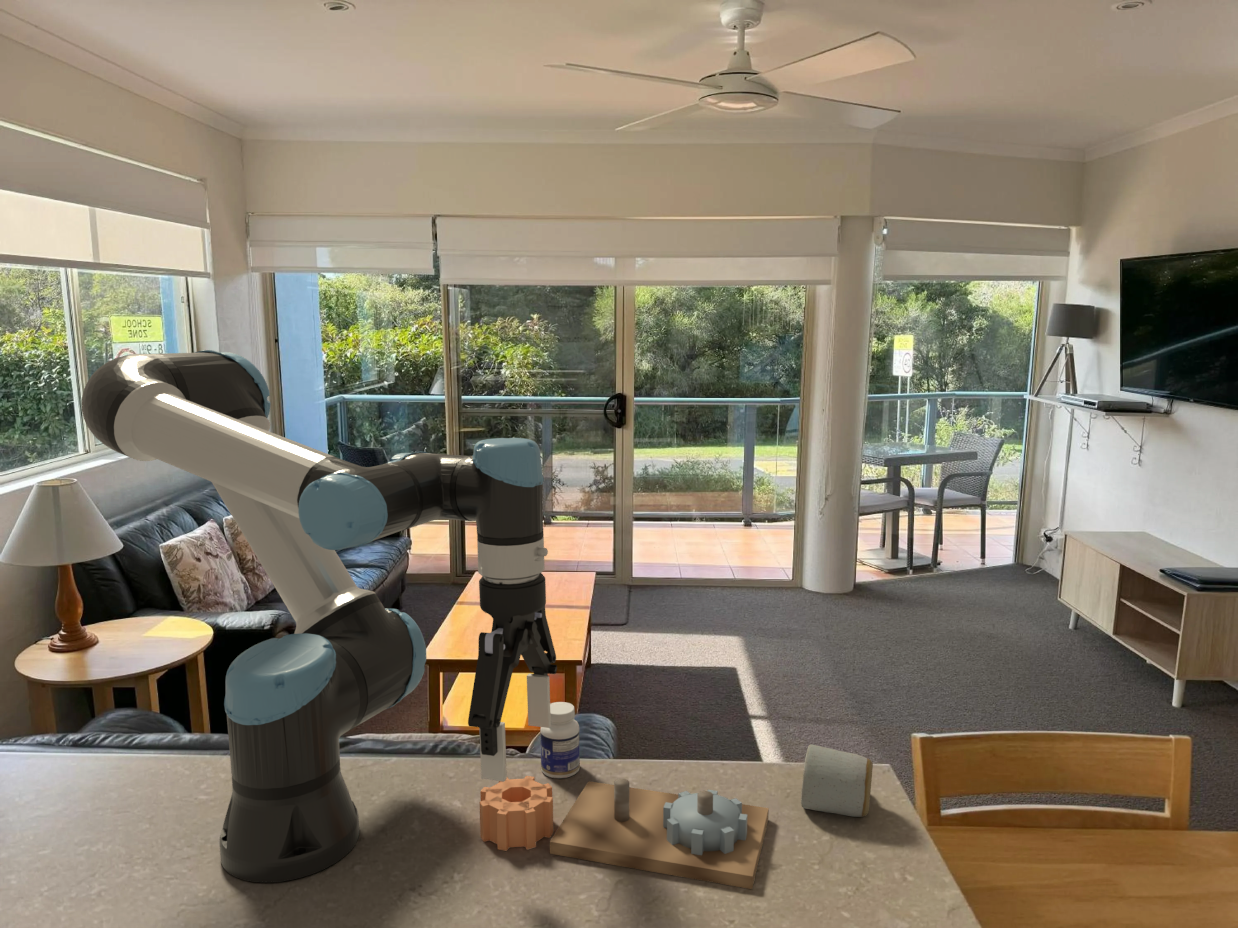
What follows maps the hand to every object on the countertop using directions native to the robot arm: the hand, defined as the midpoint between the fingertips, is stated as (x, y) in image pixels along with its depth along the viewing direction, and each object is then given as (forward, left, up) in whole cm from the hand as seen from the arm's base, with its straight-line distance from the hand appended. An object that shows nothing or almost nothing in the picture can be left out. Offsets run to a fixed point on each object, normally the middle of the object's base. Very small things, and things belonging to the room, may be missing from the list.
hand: (518, 750), depth 104 cm
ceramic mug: (+36, +17, -10) cm, 41 cm away
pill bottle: (0, +15, -10) cm, 18 cm away
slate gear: (+22, +4, -9) cm, 24 cm away
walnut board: (+17, +4, -10) cm, 20 cm away
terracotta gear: (0, 0, -10) cm, 10 cm away
